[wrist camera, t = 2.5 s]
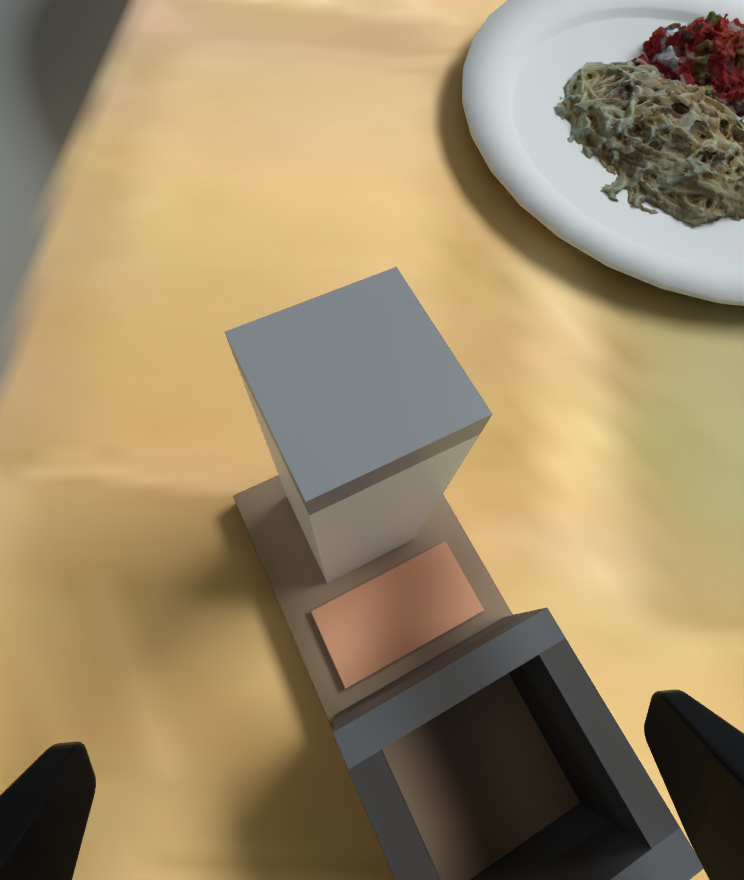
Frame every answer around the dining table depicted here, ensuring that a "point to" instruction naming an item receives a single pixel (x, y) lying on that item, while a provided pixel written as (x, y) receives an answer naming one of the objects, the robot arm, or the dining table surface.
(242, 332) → the plug
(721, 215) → the plated food
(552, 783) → the socket deck
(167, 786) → the dining table surface
